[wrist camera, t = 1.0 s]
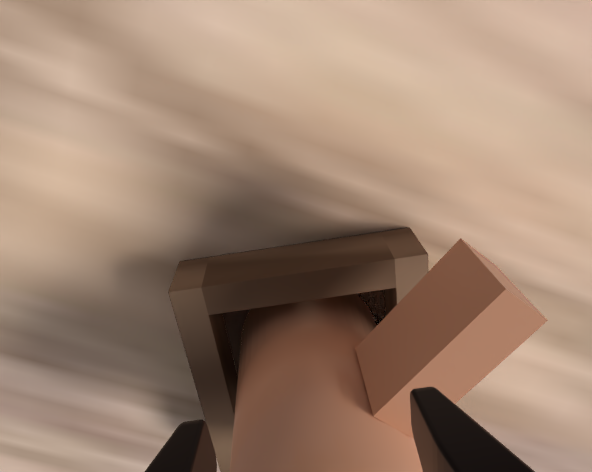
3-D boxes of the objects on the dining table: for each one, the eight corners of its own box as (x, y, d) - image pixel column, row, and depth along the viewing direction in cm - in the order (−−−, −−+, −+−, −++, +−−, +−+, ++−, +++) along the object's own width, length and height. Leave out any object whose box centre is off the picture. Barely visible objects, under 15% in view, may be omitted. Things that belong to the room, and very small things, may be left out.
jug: (319, 409, 23) (348, 625, 15) (215, 351, 21) (181, 561, 13) (484, 242, 20) (640, 400, 11) (375, 157, 18) (467, 272, 10)
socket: (416, 402, 23) (432, 443, 21) (225, 430, 23) (221, 473, 21) (409, 227, 19) (427, 254, 17) (179, 261, 19) (168, 292, 17)
